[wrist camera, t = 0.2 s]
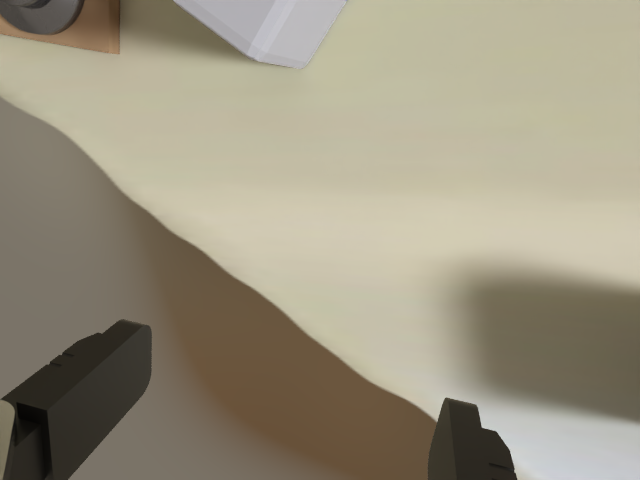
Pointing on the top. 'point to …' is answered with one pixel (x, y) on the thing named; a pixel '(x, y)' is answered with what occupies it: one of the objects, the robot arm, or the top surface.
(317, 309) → the top surface
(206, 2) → the soap bottle
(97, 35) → the walnut board
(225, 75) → the top surface
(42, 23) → the graphite hub
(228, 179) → the top surface
